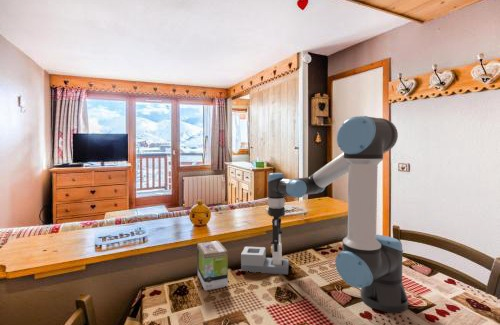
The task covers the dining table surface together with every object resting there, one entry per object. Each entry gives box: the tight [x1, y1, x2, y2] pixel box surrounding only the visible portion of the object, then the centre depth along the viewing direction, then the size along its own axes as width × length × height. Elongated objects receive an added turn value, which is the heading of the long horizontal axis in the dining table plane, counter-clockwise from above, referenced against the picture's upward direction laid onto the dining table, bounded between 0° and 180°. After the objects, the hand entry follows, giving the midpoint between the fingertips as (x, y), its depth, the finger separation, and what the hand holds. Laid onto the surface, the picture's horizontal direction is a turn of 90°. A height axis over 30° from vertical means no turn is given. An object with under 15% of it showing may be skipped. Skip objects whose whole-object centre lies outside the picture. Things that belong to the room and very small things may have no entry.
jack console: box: [240, 246, 290, 275], centre depth 124 cm, size 10×21×8 cm, turn 80°
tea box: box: [196, 240, 229, 291], centre depth 112 cm, size 15×10×15 cm, turn 22°
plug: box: [270, 241, 283, 265], centre depth 123 cm, size 4×5×12 cm
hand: (277, 252), depth 122 cm, fingers open, 13 cm apart
